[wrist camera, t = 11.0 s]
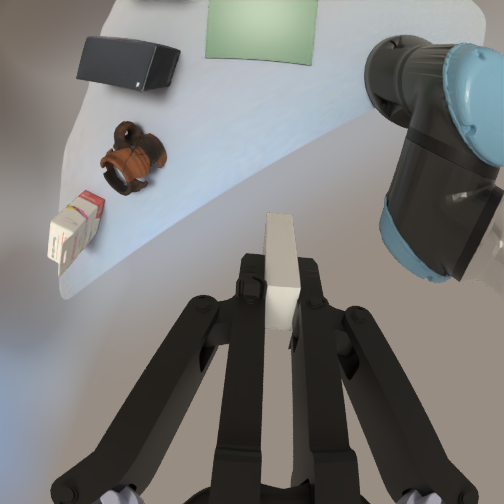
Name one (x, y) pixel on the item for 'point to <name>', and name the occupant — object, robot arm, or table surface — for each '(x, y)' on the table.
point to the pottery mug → (132, 158)
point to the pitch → (262, 30)
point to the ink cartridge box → (74, 229)
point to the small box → (127, 63)
